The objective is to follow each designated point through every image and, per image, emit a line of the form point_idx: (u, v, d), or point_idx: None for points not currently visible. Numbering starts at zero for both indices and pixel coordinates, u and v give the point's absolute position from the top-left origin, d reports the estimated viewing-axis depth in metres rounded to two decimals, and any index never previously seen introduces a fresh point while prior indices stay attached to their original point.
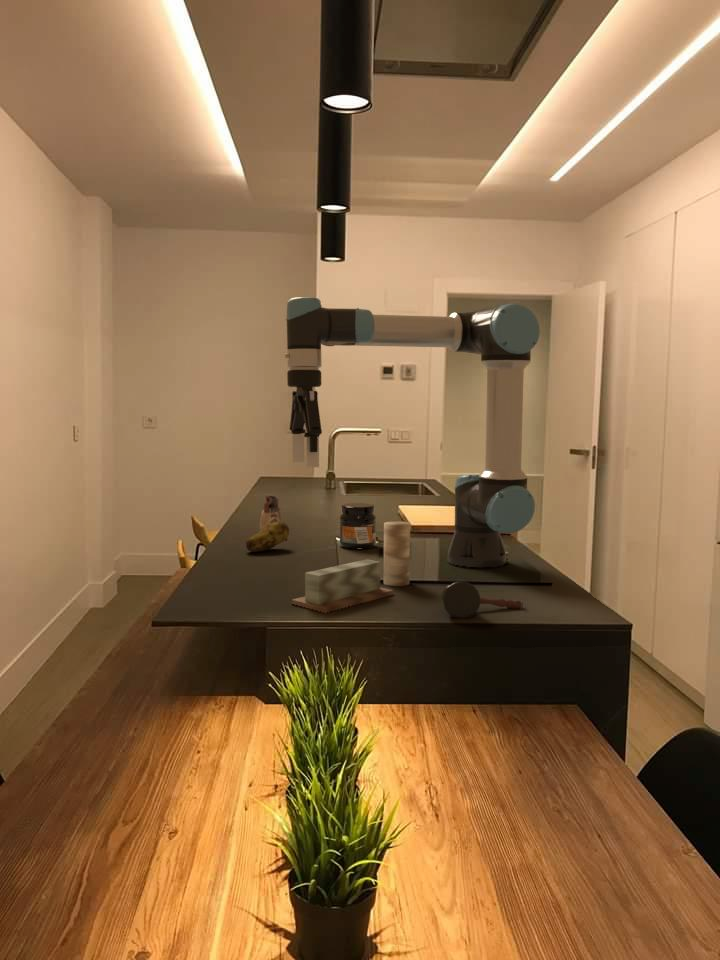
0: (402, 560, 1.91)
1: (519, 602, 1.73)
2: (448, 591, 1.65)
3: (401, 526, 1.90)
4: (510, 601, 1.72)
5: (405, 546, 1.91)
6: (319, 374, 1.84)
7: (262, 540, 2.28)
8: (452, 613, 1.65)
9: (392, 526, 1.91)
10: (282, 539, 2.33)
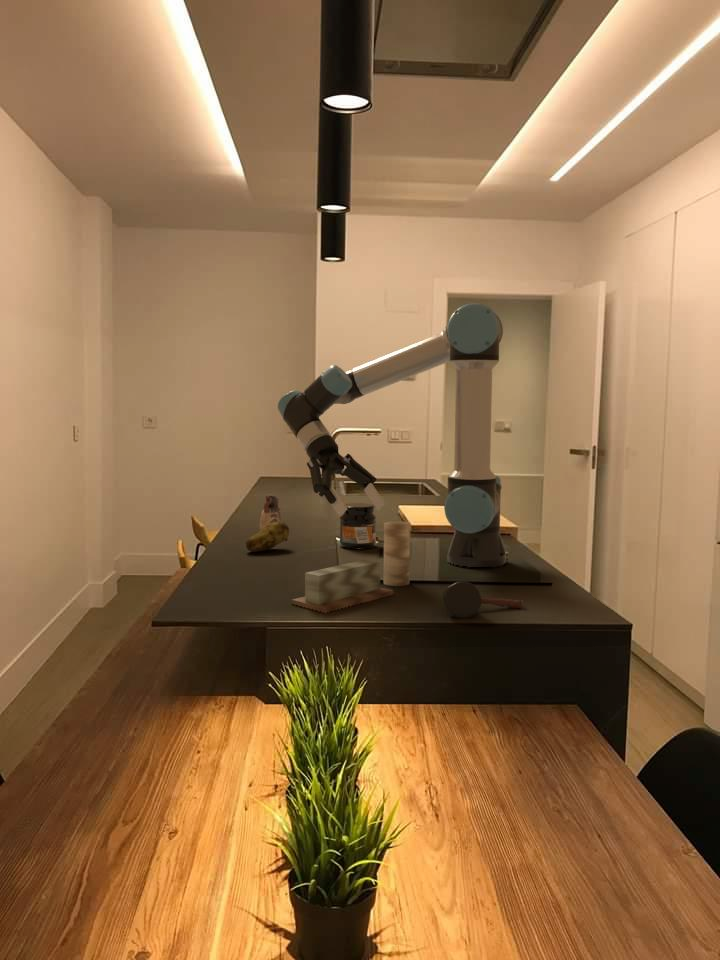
0: (402, 560, 1.91)
1: (520, 602, 1.73)
2: (449, 591, 1.65)
3: (401, 526, 1.90)
4: (511, 601, 1.72)
5: (405, 546, 1.91)
6: (319, 440, 2.04)
7: (262, 540, 2.28)
8: (454, 612, 1.65)
9: (392, 526, 1.91)
10: (282, 539, 2.33)
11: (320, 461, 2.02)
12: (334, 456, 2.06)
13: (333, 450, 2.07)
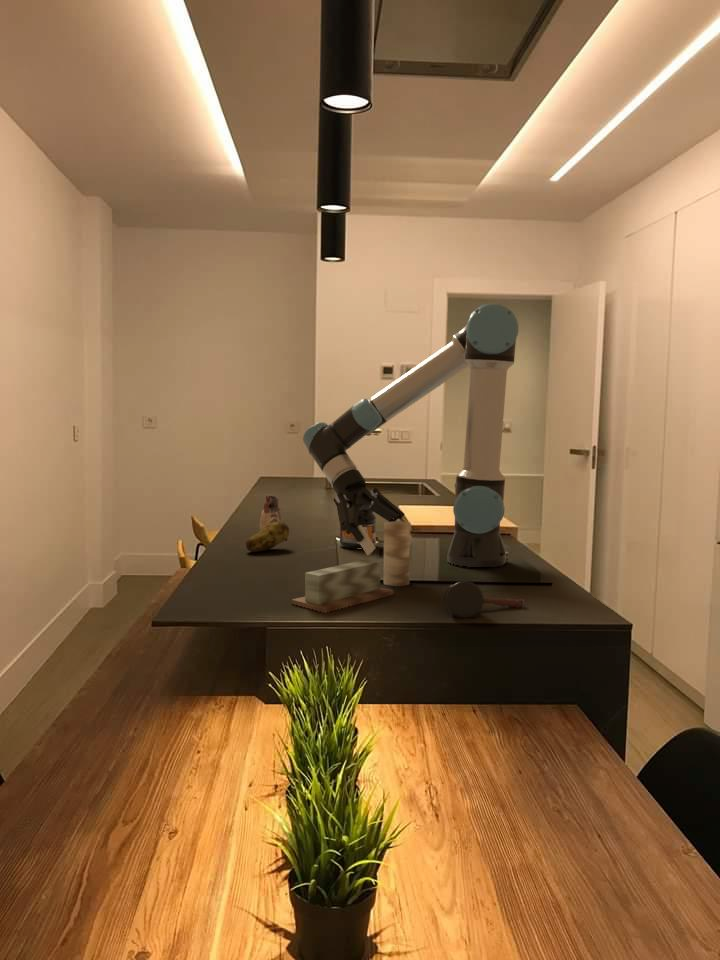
0: (402, 560, 1.91)
1: (521, 601, 1.73)
2: (451, 591, 1.65)
3: (401, 526, 1.90)
4: (512, 600, 1.73)
5: (405, 546, 1.91)
6: (346, 474, 1.99)
7: (262, 540, 2.28)
8: (456, 612, 1.65)
9: (392, 526, 1.91)
10: (282, 539, 2.33)
11: (347, 497, 1.97)
12: (361, 491, 2.01)
13: (360, 485, 2.01)
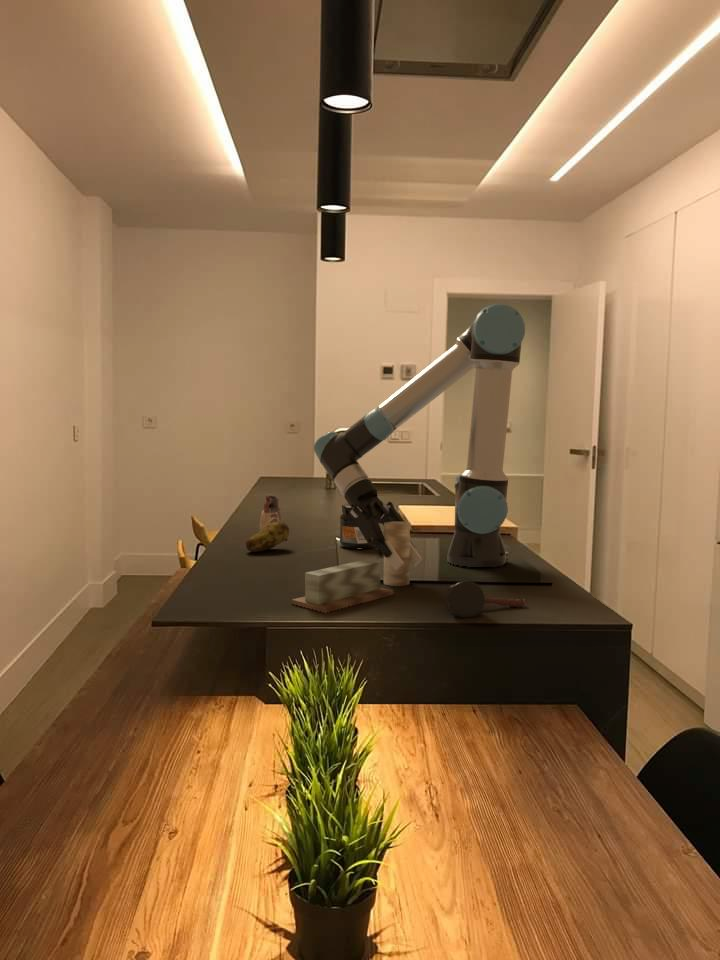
0: (402, 560, 1.91)
1: (522, 601, 1.74)
2: (453, 591, 1.65)
3: (401, 526, 1.90)
4: (513, 600, 1.73)
5: (405, 546, 1.91)
6: (358, 484, 1.97)
7: (261, 540, 2.28)
8: (457, 612, 1.65)
9: (392, 526, 1.91)
10: (282, 539, 2.33)
11: (359, 507, 1.95)
12: (373, 501, 1.99)
13: (372, 495, 1.99)
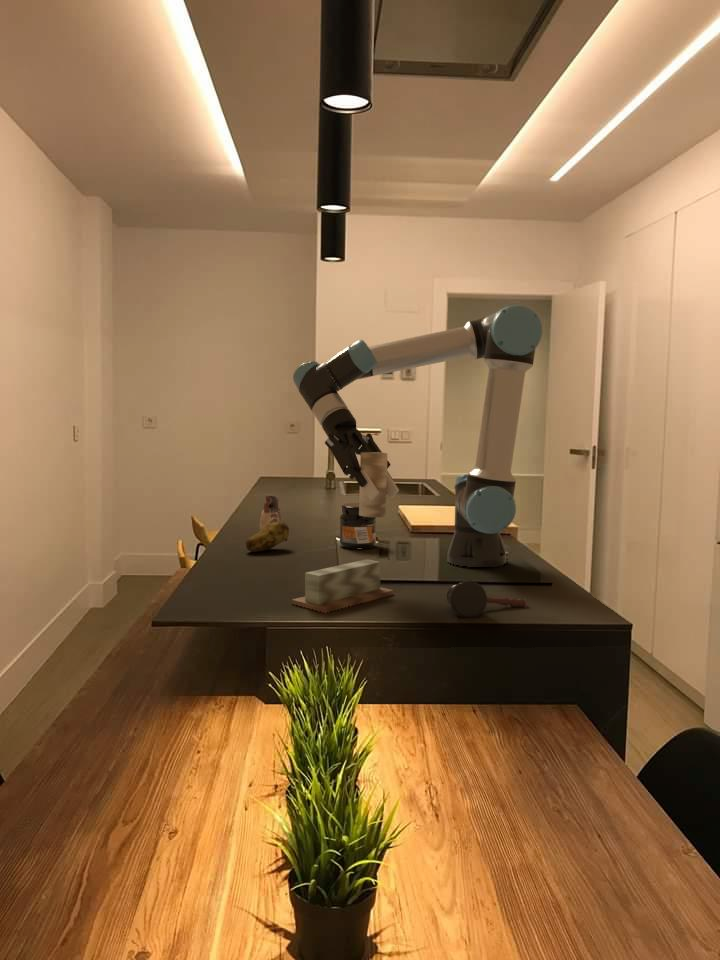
0: (378, 490, 1.85)
1: (523, 601, 1.74)
2: (455, 590, 1.65)
3: (378, 455, 1.84)
4: (514, 600, 1.73)
5: (382, 476, 1.86)
6: (336, 413, 1.91)
7: (261, 540, 2.28)
8: (460, 612, 1.65)
9: (368, 455, 1.85)
10: (282, 539, 2.32)
11: (336, 436, 1.89)
12: (351, 431, 1.93)
13: (350, 425, 1.93)
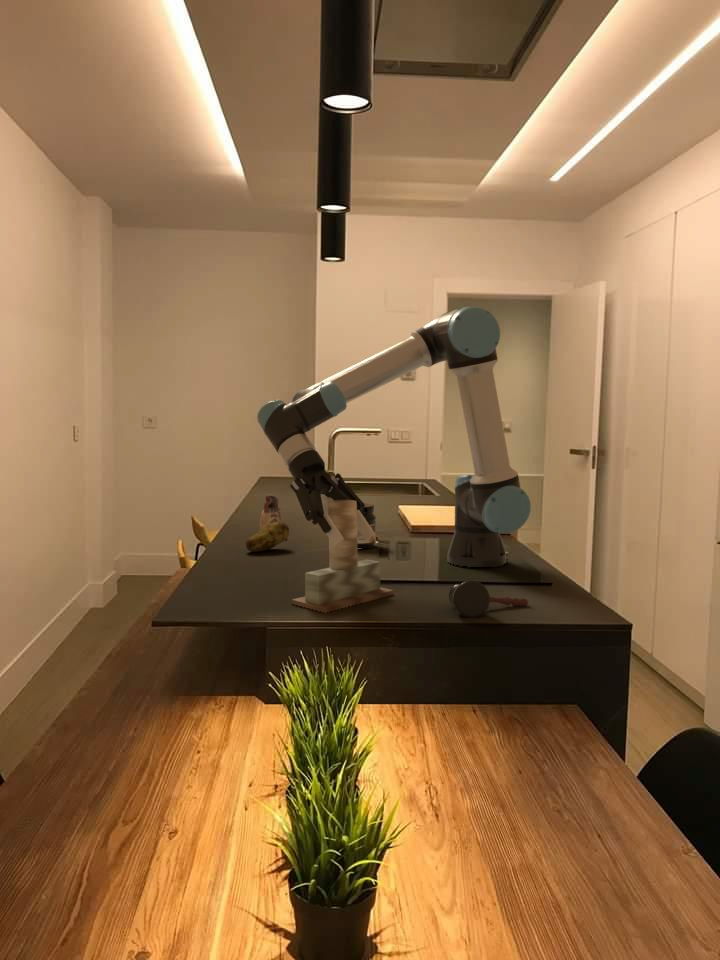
0: (348, 541, 1.75)
1: (525, 600, 1.74)
2: (458, 590, 1.65)
3: (346, 504, 1.75)
4: (516, 599, 1.74)
5: (352, 526, 1.76)
6: (303, 455, 1.81)
7: (261, 540, 2.28)
8: (463, 612, 1.65)
9: (336, 504, 1.75)
10: (282, 539, 2.32)
11: (304, 480, 1.79)
12: (320, 474, 1.83)
13: (319, 467, 1.83)
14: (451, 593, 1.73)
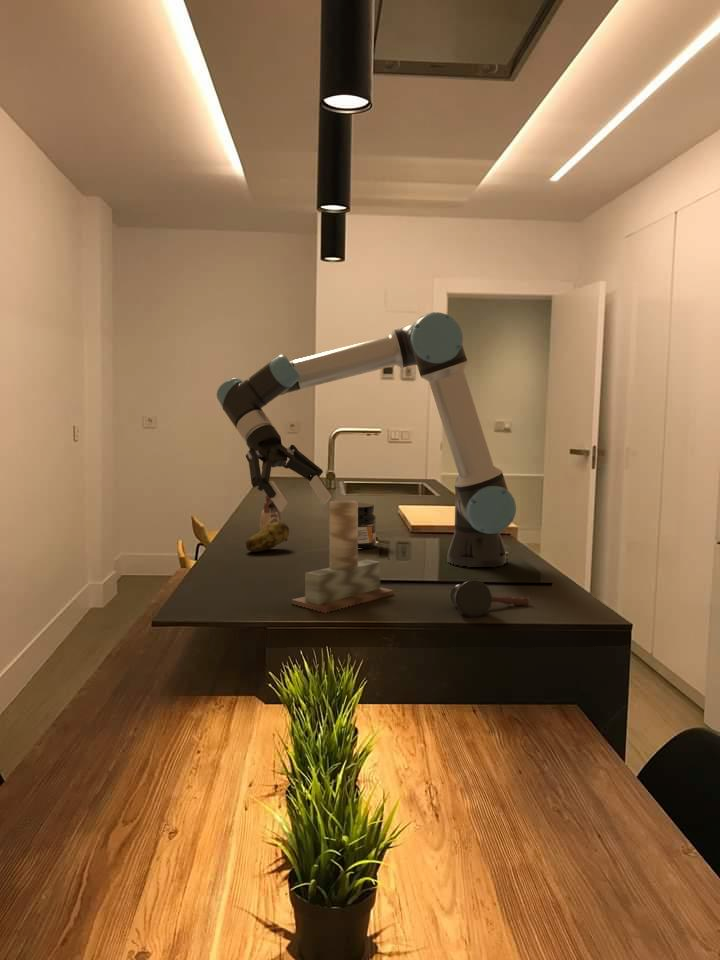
0: (348, 541, 1.75)
1: (526, 599, 1.75)
2: (461, 590, 1.66)
3: (347, 504, 1.75)
4: (517, 599, 1.74)
5: (353, 526, 1.76)
6: (259, 430, 1.91)
7: (261, 540, 2.28)
8: (465, 611, 1.66)
9: (338, 504, 1.75)
10: (282, 539, 2.32)
11: (260, 453, 1.89)
12: (276, 447, 1.93)
13: (275, 441, 1.93)
14: (453, 593, 1.73)
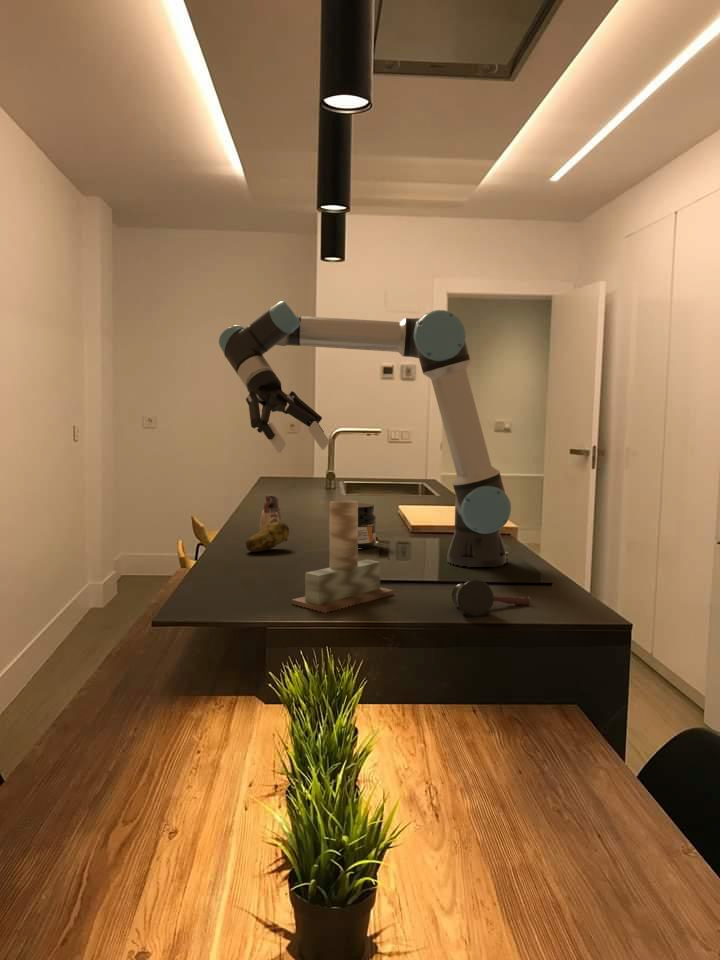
0: (348, 541, 1.75)
1: (527, 599, 1.75)
2: (463, 590, 1.66)
3: (347, 504, 1.75)
4: (518, 598, 1.75)
5: (353, 526, 1.76)
6: (260, 375, 1.93)
7: (261, 540, 2.28)
8: (467, 611, 1.66)
9: (338, 504, 1.75)
10: (282, 539, 2.32)
11: (260, 396, 1.91)
12: (276, 392, 1.95)
13: (275, 386, 1.96)
14: (454, 592, 1.73)
